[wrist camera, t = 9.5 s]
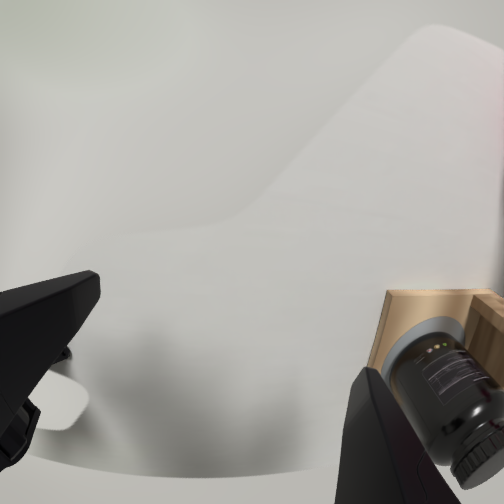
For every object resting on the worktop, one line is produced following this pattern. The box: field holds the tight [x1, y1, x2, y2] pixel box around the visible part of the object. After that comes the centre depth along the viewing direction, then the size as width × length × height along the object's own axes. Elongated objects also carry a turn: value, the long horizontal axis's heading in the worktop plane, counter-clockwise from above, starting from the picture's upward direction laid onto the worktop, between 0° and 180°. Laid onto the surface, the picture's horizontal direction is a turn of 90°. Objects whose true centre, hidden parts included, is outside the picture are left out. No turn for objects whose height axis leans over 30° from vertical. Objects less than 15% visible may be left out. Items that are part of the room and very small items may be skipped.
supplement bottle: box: [389, 331, 504, 490], centre depth 16 cm, size 7×7×12 cm
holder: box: [367, 289, 504, 406], centre depth 20 cm, size 11×12×7 cm
